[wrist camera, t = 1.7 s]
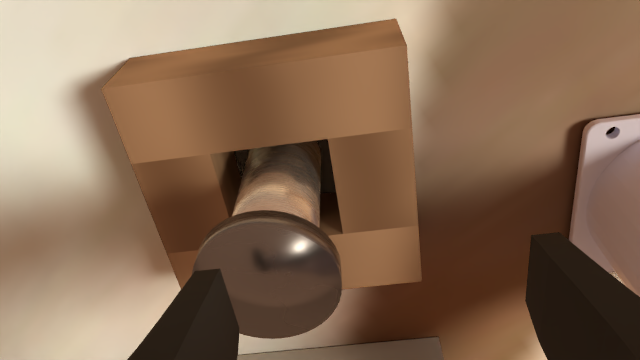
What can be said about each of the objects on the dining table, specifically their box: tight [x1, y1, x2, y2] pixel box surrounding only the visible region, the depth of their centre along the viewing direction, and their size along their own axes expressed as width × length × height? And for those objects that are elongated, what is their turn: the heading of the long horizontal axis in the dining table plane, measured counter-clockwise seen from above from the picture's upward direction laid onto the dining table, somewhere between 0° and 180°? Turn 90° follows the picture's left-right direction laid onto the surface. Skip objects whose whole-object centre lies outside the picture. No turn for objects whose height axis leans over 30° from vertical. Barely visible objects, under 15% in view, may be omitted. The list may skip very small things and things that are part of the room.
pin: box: [192, 140, 342, 339], centre depth 19 cm, size 4×4×8 cm
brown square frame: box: [101, 19, 422, 289], centre depth 21 cm, size 10×10×3 cm
